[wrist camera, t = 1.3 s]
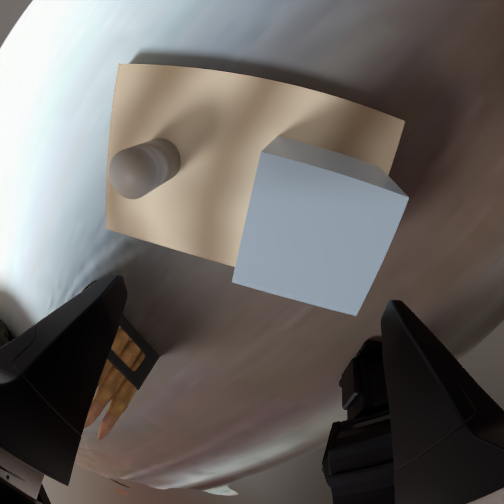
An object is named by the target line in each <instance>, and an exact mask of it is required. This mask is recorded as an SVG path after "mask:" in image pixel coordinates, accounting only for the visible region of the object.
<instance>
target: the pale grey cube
mask: <svg viewBox="0 0 504 504" xmlns="http://www.w3.org/2000/svg"><path fill="white" fill-rule="evenodd" d="M408 200H409V197H408V196H407V195H406V194H405V193H404V192H403V191H402V190H401V189H400V187H399V186H398V185H397V184H396V183H395V182H394V181H393V180H392V179H391V178H390V177H389V176H388V175H387V174H386V173H385V172H384V171H383V170H382V169H381V168H380V167H379V166H376V165H374V164H371V163H368V162H365V161H362V160H359V159H356V158H353V157H350V156H347V155H344V154H341V153H337V152H334V151H331V150H328V149H324V148H321V147H317V146H314V145H311V144H307V143H303V142H300V141H296V140H292V139H288V138H285V137H281V136H277V137H276V138H275V139H274V140H273V141H272V142H271V143H270V144H269V145H267V146H266V147H265V148H264V149H263V150H262V151H261V154H260V158H259V162H258V167H257V171H256V176H255V180H254V184H253V189H252V193H251V198H250V202H249V207H248V211H247V216H246V220H245V225H244V229H243V234H242V238H241V243H240V247H239V252H238V256H237V261H236V266H235V270H234V275H233V279H232V282H233V283H236V284H240V285H243V286H247V287H250V288H254V289H257V290H261V291H264V292H268V293H272V294H275V295H279V296H282V297H286V298H290V299H293V300H297V301H301V302H304V303H308V304H312V305H316V306H320V307H323V308H327V309H331V310H335V311H339V312H343V313H347V314H350V315H354V316H356V315H357V313H358V311H359V309H360V307H361V305H362V303H363V301H364V299H365V297H366V295H367V293H368V291H369V289H370V287H371V285H372V283H373V281H374V279H375V277H376V275H377V273H378V270H379V268H380V266H381V264H382V262H383V260H384V257H385V255H386V253H387V251H388V248H389V246H390V244H391V242H392V239H393V237H394V235H395V232H396V230H397V227H398V225H399V222H400V220H401V218H402V215H403V212H404V210H405V207H406V205H407V202H408Z"/></svg>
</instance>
